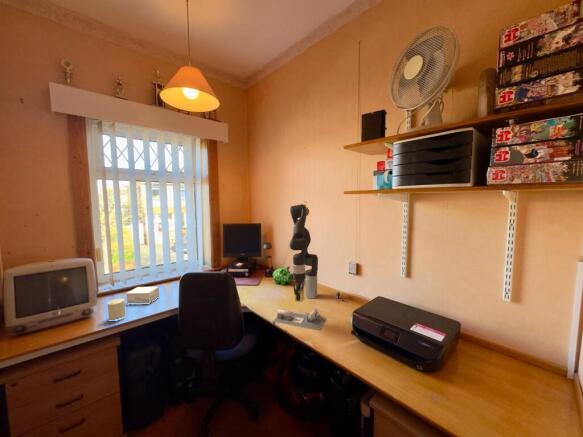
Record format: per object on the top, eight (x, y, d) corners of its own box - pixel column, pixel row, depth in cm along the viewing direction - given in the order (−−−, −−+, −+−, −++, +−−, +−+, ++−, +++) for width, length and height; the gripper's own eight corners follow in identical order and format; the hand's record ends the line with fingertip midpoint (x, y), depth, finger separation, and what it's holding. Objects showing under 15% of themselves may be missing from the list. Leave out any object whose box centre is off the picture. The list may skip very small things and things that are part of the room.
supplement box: (159, 297, 189) (159, 286, 189) (149, 305, 176) (149, 292, 176) (138, 298, 190) (137, 286, 189) (126, 305, 176) (126, 293, 176)
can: (105, 320, 154) (103, 302, 153) (119, 314, 162) (118, 297, 161) (114, 323, 150) (113, 304, 149) (129, 316, 159) (128, 298, 158)
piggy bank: (286, 287, 206) (286, 270, 205) (269, 284, 216) (269, 267, 215) (295, 282, 218) (295, 266, 217) (279, 279, 228) (278, 264, 227)
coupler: (294, 301, 145) (294, 289, 144) (297, 298, 149) (297, 286, 149) (301, 302, 143) (301, 289, 143) (304, 299, 148) (304, 287, 147)
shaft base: (283, 311, 162) (283, 303, 161) (327, 319, 150) (327, 310, 150) (272, 323, 147) (272, 314, 146) (320, 332, 136) (320, 322, 135)
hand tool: (358, 338, 130) (358, 330, 129) (350, 336, 132) (350, 328, 131) (367, 323, 146) (367, 315, 145) (360, 321, 148) (360, 314, 148)
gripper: (297, 267, 153) (297, 293, 154) (288, 274, 140) (289, 302, 141) (308, 268, 150) (308, 295, 151) (301, 275, 137) (301, 304, 138)
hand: (299, 298), depth 146 cm, fingers closed on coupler, 4 cm apart
